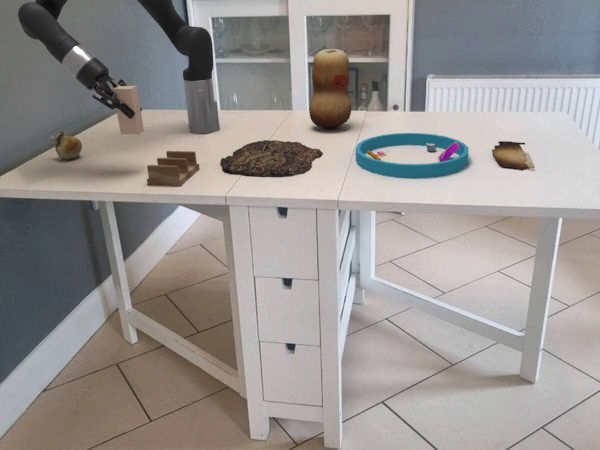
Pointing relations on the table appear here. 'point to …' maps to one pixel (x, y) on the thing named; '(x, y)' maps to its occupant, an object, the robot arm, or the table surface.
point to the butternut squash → (330, 89)
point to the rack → (173, 169)
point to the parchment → (512, 155)
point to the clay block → (132, 100)
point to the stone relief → (270, 159)
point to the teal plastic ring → (412, 169)
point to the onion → (67, 146)
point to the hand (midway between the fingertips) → (136, 114)
